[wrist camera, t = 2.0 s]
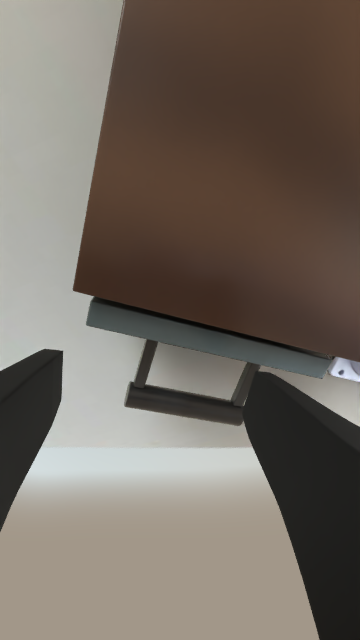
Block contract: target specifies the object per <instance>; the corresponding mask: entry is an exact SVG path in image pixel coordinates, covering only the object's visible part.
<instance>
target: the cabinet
mask: <svg viewBox="0 0 360 640" xmlns="http://www.w3.org/2000/svg"><path fill="white" fill-rule="evenodd" d="M73 291H75V292H79V293H83V294H87V295H91V296H95V297H99V298H103V299H107V300H111V301H115V302H119V303H123V304H127V305H131V306H135V307H139V308H143V309H147V310H151V311H155V312H159V313H163V314H167V315H171V316H175V317H179V318H183V319H187V320H191V321H195V322H199V323H203V324H207V325H211V326H215V327H219V328H223V329H227V330H231V331H235V332H239V333H243V334H247V335H251V336H255V337H259V338H263V339H267V340H271V341H275V342H279V343H283V344H287V345H291V346H295V347H299V348H303V349H307V350H311V351H315V352H319V353H323V354H327V355H331V356H335V357H339V358H343V359H347V360H351V361H355V362H360V0H124V1H123V7H122V13H121V18H120V24H119V30H118V35H117V41H116V47H115V52H114V58H113V64H112V69H111V75H110V81H109V86H108V92H107V98H106V104H105V109H104V115H103V121H102V126H101V132H100V138H99V143H98V149H97V155H96V160H95V166H94V172H93V177H92V183H91V189H90V194H89V200H88V206H87V211H86V217H85V223H84V228H83V234H82V240H81V245H80V251H79V257H78V263H77V268H76V274H75V280H74V285H73Z"/></svg>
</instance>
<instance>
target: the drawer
mask: <svg viewBox="0 0 360 640" xmlns="http://www.w3.org/2000/svg"><path fill="white" fill-rule="evenodd" d="M86 325H87V326H91V327H95V328H100V329H104V330H109V331H113V332H117V333H122V334H126V335H131V336H135V337H140V338H144V339H146V340H145V344H144V347H143V351H142V354H141V358H140V361H139V365H138V368H137V372H136V375H135V379H134V382H129V385H128V388H127V392H126V397H125V402H124V406H125V407H129V408H135V409H141V410H147V411H153V412H159V413H165V414H170V415H176V416H182V417H188V418H194V419H200V420H206V421H212V422H218V423H224V424H230V425H235V426H239V425H241V424H242V422H243V420H244V419H243V416H242V411H243V408H244V406H243V404H244V401H245V399H246V397H247V395H248V392H249V389H250V386H251V383H252V380H253V377H254V374H255V371H259V369H260V366H261V365H263V366H268V367H272V368H276V369H281V370H285V371H290V372H294V373H299V374H303V375H307V376H312V377H316V378H321V379H322V378H323V377H324V375H325V373H326V371H327V370H328V368H329V366H330V364H331V362H332V359H330V358H329V357H328V356H326V355H325V354H323V353H319V352H315V351H311V350H307V349H303V348H299V347H295V346H291V345H287V344H283V343H279V342H275V341H271V340H267V339H263V338H259V337H255V336H251V335H247V334H243V333H239V332H235V331H231V330H227V329H223V328H219V327H215V326H211V325H207V324H203V323H199V322H195V321H191V320H187V319H183V318H179V317H175V316H171V315H167V314H163V313H159V312H155V311H151V310H147V309H143V308H139V307H135V306H131V305H127V304H123V303H119V302H115V301H111V300H107V299H103V298H99V297H95V296H94V297H93V299H92V300H91V302H90V306H89V311H88V316H87V321H86ZM158 342H162V343H166V344H170V345H175V346H179V347H184V348H188V349H193V350H197V351H201V352H206V353H210V354H215V355H219V356H223V357H228V358H232V359H237V360H241V361H246V362H247V363H246V366H245V368H244V370H243V373H242V375H241V377H240V379H239V382H238V384H237V386H236V389H235V391H234V393H233V396H232V398H231V400H226V399H221V398H216V397H210V396H205V395H200V394H195V393H189V392H184V391H179V390H174V389H168V388H163V387H158V386H153V385H147V384H145V383H146V380H147V377H148V373H149V370H150V367H151V364H152V360H153V357H154V354H155V350H156V347H157V344H158Z"/></svg>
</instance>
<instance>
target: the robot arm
mask: <svg viewBox="0 0 360 640" xmlns="http://www.w3.org/2000/svg"><path fill="white" fill-rule="evenodd" d="M62 366H63V351H59V350H50V349H43V350H41V351H39V352H37V353H35V354H33V355H31V356H29V357H27V358H25V359H23V360H21V361H19V362H17V363H15V364H13V365H12V366H10V367H8V368H6V369H4V370H2V371H0V531H1V529H2V527H3V524H4V521H5V519H6V517H7V514H8V512H9V510H10V507H11V505H12V503H13V501H14V498H15V497H16V494H17V492H18V490H19V488H20V486H21V484H22V483H23V480H24V479H25V476H26V475H27V473H28V471H29V469H30V467H31V465H32V463H33V461H34V459H35V457H36V456H37V454H38V452H39V449H40V448H41V446H42V444H43V442H44V440H45V438H46V436H47V434H48V432H49V430H50V428H51V426H52V424H53V421H54V419H55V416H56V413H57V410H58V408H59V405H60V402H61V394H62ZM340 370H341V371H340ZM339 371H340V372H339ZM328 372H329V373H330V374H331V375H332V376H335V377H340V378H344V379H348V380H353V381H357V382H360V362H355V361H351V360H347V359H343V358H339V357H335V358H334V360H333V361H332V363H331V365H330V367H329V369H328ZM242 416H243V419H244V423H245V427H246V430H247V433H248V437H249V439H250V442H251V444H252V446H253V449H254V451H255V453H256V455H257V457H258V460H259V462H260V464H261V466H262V469H263V471H264V473H265V476H266V478H267V480H268V482H269V484H270V487H271V489H272V491H273V493H274V495H275V498H276V501H277V503H278V505H279V508H280V511H281V514H282V517H283V519H284V522H285V525H286V528H287V531H288V534H289V537H290V540H291V543H292V546H293V549H294V553H295V556H296V559H297V562H298V565H299V569H300V572H301V575H302V578H303V582H304V585H305V589H306V592H307V596H308V599H309V603H310V606H311V610H312V614H313V617H314V621H315V624H316V628H317V631H318V635H319V639H320V640H360V427H359V426H357V425H355V424H353V423H352V422H350V421H348V420H347V419H345V418H343V417H341V416H340V415H338V414H336V413H335V412H333V411H331V410H330V409H328V408H327V407H325V406H323V405H322V404H320V403H319V402H317V401H315V400H314V399H312V398H311V397H309V396H308V395H306V394H305V393H303V392H302V391H300V390H298V389H297V388H295V387H294V386H292V385H291V384H289V383H288V382H286V381H284V380H283V379H281V378H279V377H278V376H276V375H274V374H272V373H269V372H260V371H255V374H254V377H253V380H252V383H251V386H250V389H249V392H248V395H247V399H246V402H245V405H244V408H243V411H242Z"/></svg>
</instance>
